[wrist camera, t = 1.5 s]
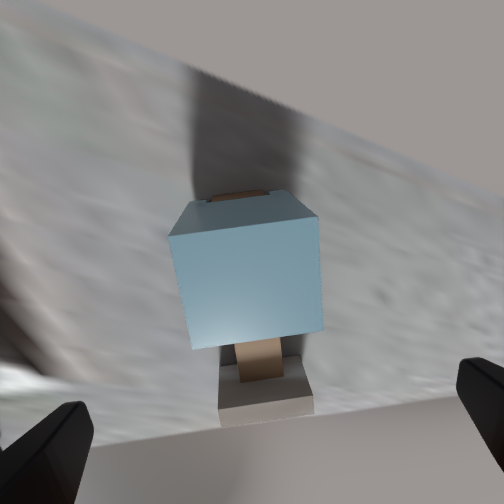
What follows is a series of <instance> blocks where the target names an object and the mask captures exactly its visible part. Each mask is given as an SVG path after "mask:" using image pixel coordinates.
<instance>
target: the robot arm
mask: <svg viewBox="0 0 504 504" xmlns="http://www.w3.org/2000/svg"><path fill="white" fill-rule="evenodd" d="M456 390H457V393H458V396H459V398H460V400H461V401H462V403H463V405H464V407H465V408H466V410H467V412H468V413H469V415H470V417H471V419H472V420H473V422H474V424H475V426H476V427H477V429H478V431H479V433H480V434H481V436H482V438H483V439H484V441H485V443H486V445H487V446H488V448H489V450H490V452H491V453H492V455H493V457H494V458H495V460H496V462H497V463H498V465H499V466H500V467H501V469H502V471H503V472H504V368H503V367H501V366H499V365H497V364H494V363H492V362H490V361H488V360H486V359H483V358H480V357H475V358H466V359H462V360H461V362H460V364H459V370H458V376H457V382H456ZM93 434H94V427H93V423H92V421H91V418H90V415H89V412H88V410H87V407H86V405H85V403H84V402H83V401H74V402H67V403H64V404H62V405H61V406H59V407H58V408H57V409H56V410H54V411H53V412H52V413H51V414H49V415H48V416H47V417H46V418H44V419H43V420H42V421H40V422H39V423H38V424H37V425H35V426H34V427H33V428H32V429H30V430H29V431H28V432H27V433H25V434H24V435H23V436H22V437H20V438H19V439H18V440H16V441H15V442H14V443H13V444H11V445H10V446H9V447H8V448H6V449H5V450H4V451H3V452H1V453H0V504H74V502H75V499H76V496H77V492H78V489H79V485H80V481H81V478H82V475H83V471H84V467H85V463H86V460H87V457H88V453H89V450H90V446H91V443H92V439H93Z"/></svg>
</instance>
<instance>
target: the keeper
mask: <svg viewBox="0 0 504 504" xmlns="http://www.w3.org/2000/svg"><path fill="white" fill-rule="evenodd" d="M268 193H269V195H263V196H255V197H247V198H240V199H232V200H224V201H217V202H209V203H207V200H199V201H191V202H189V203H188V205H187V207H186V208H185V210H184V211H183V213H182V215H181V216H180V218H179V219H178V221H177V223H176V224H175V226H174V227H173V229H172V231H171V232H170V234H169V235H168V240H169V244H170V249H171V254H172V258H173V263H174V268H175V272H176V277H177V281H178V286H179V291H180V295H181V300H182V304H183V309H184V314H185V318H186V323H187V327H188V332H189V337H190V341H191V346H192V350H193V349H200V348H207V347H214V346H221V345H228V344H235V343H242V342H249V341H256V340H263V339H270V338H277V337H284V336H291V335H298V334H305V333H312V332H319V331H323V311H322V291H321V270H320V250H319V229H318V216H317V215H316V214H314V213H313V212H312V211H311V210H310V209H308V208H307V207H306V206H305V205H304V204H302V203H301V202H300V201H299V200H298V199H296V198H295V197H294V196H293V195H292V194H290V193H289V192H288V191H287V190H286V189H283V190H276V191H268Z"/></svg>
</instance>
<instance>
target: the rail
mask: <svg viewBox="0 0 504 504" xmlns="http://www.w3.org/2000/svg"><path fill="white" fill-rule="evenodd" d="M263 195H265V194H264V192H263V191H262V190H255V191H247V192H239V193H232V194H224V195H216V196H213V197H212V201H211V202H217V201H224V200H232V199H240V198H247V197H255V196H263ZM234 346H235V352H236V358H237V364H234V365H227V366H220V367H219V391H218V413H219V418H220V423H221V428H224V427H230V426H237V425H243V424H250V423H257V422H263V421H270V420H276V419H283V418H290V417H296V416H303V415H310V414H314V403H313V394H312V391H311V388H310V385H309V382H308V379H307V376H306V373H305V370H304V367H303V364H302V361H301V358H300V355H296V356H289V357H282V352H281V343H280V337H277V338H270V339H263V340H256V341H249V342H242V343H235V344H234Z"/></svg>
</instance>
